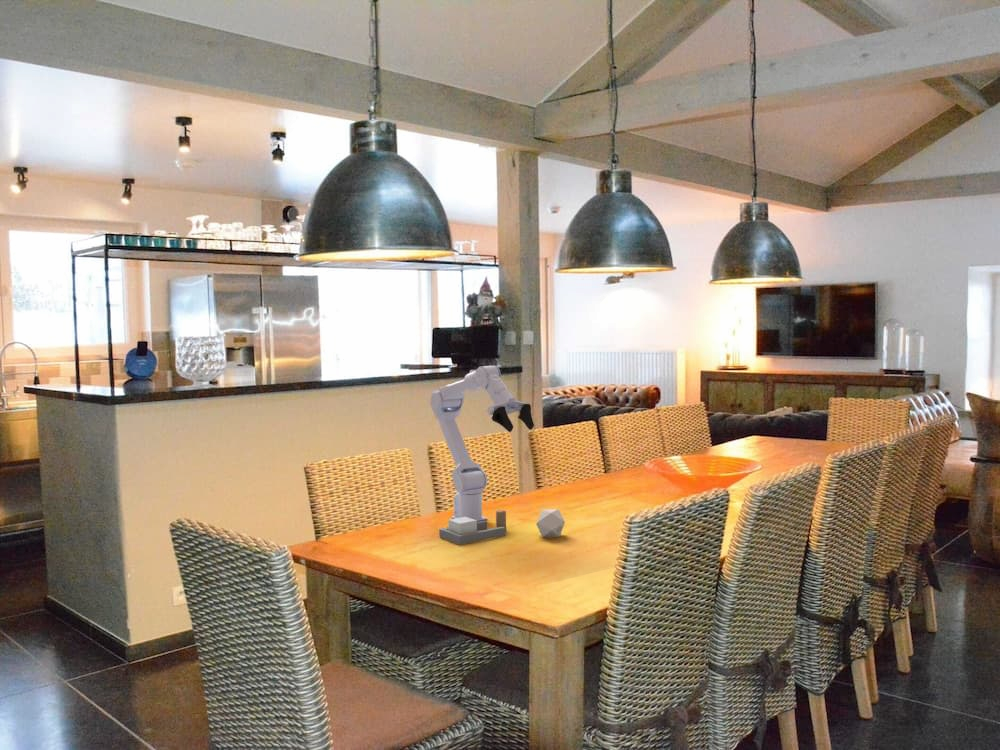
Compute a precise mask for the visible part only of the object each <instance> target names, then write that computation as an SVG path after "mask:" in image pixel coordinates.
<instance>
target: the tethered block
mask: <svg viewBox="0 0 1000 750" xmlns="http://www.w3.org/2000/svg"><path fill="white" fill-rule="evenodd" d="M477 522H478V521H477V520H474V519H471V518H468V517H461V518H455V519H454V518H449V519H448V521H447V523H448V527H449V531H452V532H454V533H457V534H460V535H461V534H466V533H471V532H477ZM495 526H496V527H495V528H497V527H505V532H507V511H506V510H496V511H495Z"/></svg>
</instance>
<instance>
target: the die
mask: <svg viewBox="0 0 1000 750" xmlns="http://www.w3.org/2000/svg"><path fill="white" fill-rule="evenodd" d="M565 523H566V520H565V519H564V517H563V515H562V513H561V510H560V509H559V508H557V509H556V508H555V509H553V508H552V509H541V510H540V513H539V515H538V519H537V522H536V527H537V529H538V532H539V533H540V536H541V537H542V538H560V537H561V534H562V531H563V528H564V526H565Z"/></svg>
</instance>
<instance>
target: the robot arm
mask: <svg viewBox="0 0 1000 750" xmlns="http://www.w3.org/2000/svg"><path fill="white" fill-rule="evenodd" d="M501 376H502V375H501V369H500V368H499V366H497V365H484V366H483V365H482V366H478V368H476V369H470V370H469V373H467V374H465V376H464V377H463V379H462V380H458V381H455V382H452V383H451V384H447V385H445V386H441V387H438V389H437V390H434V391H432V393H431V396H430V402H429V404H430V406H431V407H430V408H431V410H432V412H433V414H434V417H435V419H436V420H437V421H438V425H439V427H440V429H441V432H442V434H443V435H442V436H443V437H444V439H445V440H444V441H445V442H446V444H447V447H448V449H449V453H450V454H451V457H452V459H453V461H454V464H455V467H454V469H453V470H452V473H451V476H452V481H453V482H452V483H453V486H454V489H455V491H456V493H455V494H454V497H453V515H452V516H451V519H455V518H461V517H468V518H471V519H474V520H477V522H480V521H486V520H487V521H488V517H486V516H483V497H482V496H483V493H482V492H484V490H485V489H486V487H487V485H488V476H487V474H486V472H485V471H484V470H483V468H482V466H481V465H480V464H478V463H477V462H475V461H473V460H472V458H471V456H470V453H469V451H468V449H467V446H466V443H465V442H464V439H463V437H462V435H461V431H460V430H459V429H460V428H459V427H458V424H457V422H456V419H457V418H458V417H459V416H460V413H461V411H462V408H463V404H464V402H465V401H464V400H465V393H464V392H466V391H468V390H469V391H472V392H473V391H477V390H479V389H481V388H482V389H484V390H485V391H486V393H487V394H488V396H489V397H490V399H491V400H492V402H493V403H494V404H492V405H489V406H488V407H487V409H486V412H487V413H488V415H489V416H491V421H492V422H495V423H497V424H498V425H500V426H502V428H504V430H506V431H507V432H508V433H511V432H512V431H513V429H514V424H513V423H512V421H511V419H510V418H509V416H508V415H510V414H513V413H516V412H519V415H518V417H517V418H518V419H519V420H521V422H523V424H524V425H525V426H526V428H527V429H528V430H530V431H532V430H533V428H534V426H535V423H534V419H533V417H532V405H531V404H530V403H529V402H524V401H521V400H517V398H516V397H515V396H513V395H512V394H511V392H510V390H509V388H508V387H507V386H506V384H505V383H504V380H502V377H501Z"/></svg>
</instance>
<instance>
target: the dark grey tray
mask: <svg viewBox="0 0 1000 750" xmlns="http://www.w3.org/2000/svg"><path fill="white" fill-rule="evenodd" d="M487 521H488V520H487ZM487 521H486V520H481V521H477V532H471V533H466V534H461V535H460V534H457V533H454V532H452V531H449V526H448V527H442V528H439V534H438V535H439V538H441V539H443V540H446V541H448V542H450V543H453V544H456V545H459V546H461V545H466V544H472V543H475V542H482V541H486V540H491V539H497V538H501V537H506V531H505V527H497V528H496V527H494V528H488V522H487Z"/></svg>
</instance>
